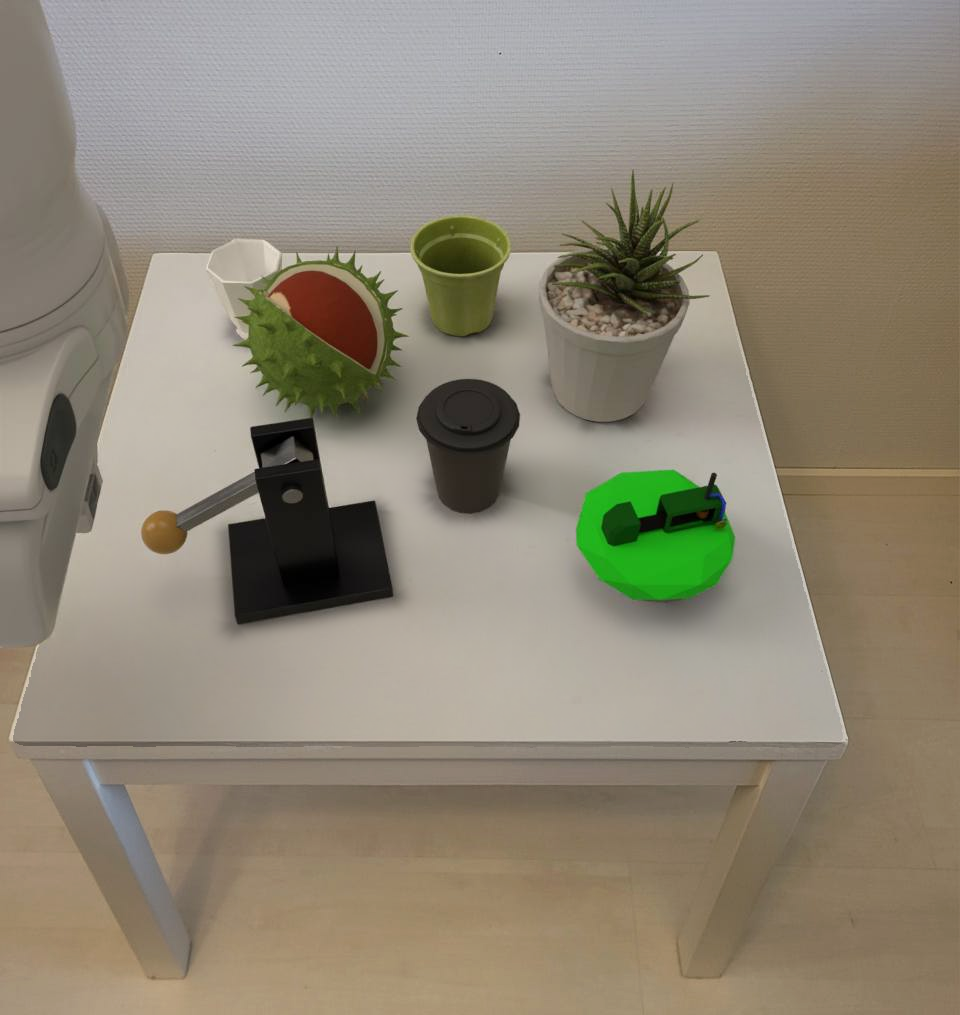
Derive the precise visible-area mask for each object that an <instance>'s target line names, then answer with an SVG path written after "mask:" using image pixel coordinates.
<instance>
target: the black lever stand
mask: <svg viewBox="0 0 960 1015" xmlns="http://www.w3.org/2000/svg"><path fill="white" fill-rule="evenodd" d="M249 431H250V432H249V433H250V440H251V442H252V446H253V450H254V454H255V459H256V463H257V466H258V468H254V471H253V472H254V473H255V481H256V484H257V488H258V492H259V493H258V495H259V501H260V503H261V508H262V511H263V515H264V517H263V518H259V519H252V520H245V521H240V522H234V523H228V524H227V530H228V542H229V543H228V544H229V558H230V570H231V571H230V572H231V581H232V582H231V585H232V597H233V598H232V599H233V610H234V611H233V612H234V618H235V621H236V623H237V625H243V624H248V623H254V622H259V621H265V620H271V619H276V618H282V617H287V616H295V615H299V614H303V613H304V614H305V613H310V612H315V611H322V610H327V609H333V608H339V607H343V606H350V605H356V604H361V603H367V602H372V601H379V600H383V599H388V598H393V597H394V589H393V588H394V587H393V583H392V578H391V573H390V568H389V564H388V559H387V554H386V548H385V543H384V538H383V533H382V528H381V523H380V518H379V513H378V508H377V503H376V500H374V499H373V500H369V501H362V502H357V503H350V504H343V505H337V506H332V507H329V502H328V495H327V490H326V484H325V479H324V473H323V467H322V462H321V456H320V451H319V444H318V439H317V433H316V428H315V422H314V418H313V417H312V418H310V417H307V418H299V419H293V420H287V421H281V422H273V423H267V424H260V425H253V426H250V428H249ZM292 436H294V437H295V438H296V439H297V440H298V441H299V442H300V443H302V444H303V445H304V446H305V447H306V448H307V449H308V450H309V451H310V452H312V454H313V459H314V460H309V461H303V462H296V463H290V464H283V465H277V466H270V467H264V468H262V459H261V454H262V453H263V452H265V451H267V450H269V449H270V448H272V447H274V446H276V445H278V444H279V443H281V442H283V441H285V440H287V439H288V438H290V437H292Z"/></svg>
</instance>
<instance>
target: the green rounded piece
mask: <svg viewBox="0 0 960 1015" xmlns="http://www.w3.org/2000/svg"><path fill="white" fill-rule="evenodd" d="M717 477H718V474H717V472H711V473H710V477H709V480H708V484H707V485H704V486H699V485H697V483H695V482H693V481H692V480H690V479H689V478H687V477H685V475H682V474H681V473H679V471H677V470H675V469H661V470H659V469H658V470H645V471H643V470H641V471H628V472H627V471H625V472H620V473H618V474H617V475H615V476H613V477H611V478H610V479H608V480H606V481H605V482H603V483H601V484H599V485H598V486H595V487H593V488H592V489H590V490H589V491H587V492H586V493H585V496H584V499H583V503H582V507H581V510H580V514H579V517H578V520H577V524H576V527H575V539H576V542H575V543H576V546H577V549H579V551H580V553H581V554H582V555H583V557H584V558H585V560H586V562H587V563H588V564H589V566H590V567H591V569H592V571H593V572H594V573H595V575H596V576H597V578H598V580H600V581H602V582H603V583H605V584H606V585H608V586H609V587H611V588H612V589H614V590H616V591H617V592H619V593H621V594H622V595H624V596H626V597H627V598H629V599H631V600H635V601H644V602H651V603H660V604H661V603H662V604H670V603H675V602H680V601H684V600H688V599H692V598H693V597H695V596H698V595H699V594H701V593H703V592H705V591H708V590H709V589H711V588H713V587H715V586H717V585H718V583H719V582H720V580H721V578H722V577H723V575H724V573H725V572H726V570H727V568H728V567H729V565H730V564H731V562H732V560H733V557H734V549H735V544H736V543H735V542H736V535H735V533H734V531H733V528H732V525H731V524H730V520H729V519H728V515H727V512H726V508H727V502H726V499H725V497H724V495H723V494H722V492H721V491H720V488H719V487H718V485H717V484H715V483H716V480H717Z"/></svg>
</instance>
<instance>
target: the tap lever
mask: <svg viewBox="0 0 960 1015" xmlns="http://www.w3.org/2000/svg"><path fill="white" fill-rule="evenodd" d="M261 459H262V468H264V467H270V466H277V465H283V464H290V463H296V462H303V461H309V460H314V459H313V454H312V452H310V451H309V450H308V449H307V448H306V447H305V446H304V445H303V444H302V443H300V442H299V441H298V440H297V439H296V438H295V437H294V436H292V437H290V438H288V439H287V440H285V441H283V442H281V443H279V444H278V445H276V446H274V447H272V448H270V449H269V450H267V451H265V452H263V453H262V454H261ZM257 494H259V492H258V488H257V484H256V481H255V473H254V471H253V472H251V473H249V474H248V475H245V476H244V477H242V478H240V479H238V480H236V481H235V482H232V483H231V484H229V485H227V486H225V487H224V488H222V489H220V490H217V492H214V493H212V494H211V495H208V496H207V497H206V498H204V499H202V500H200V501H198V502H196V503H194V504H192V505H190V506H189V507H187V508H185V509H183V510H182V511H180V512H177V513H176V512H174V511H172V510H166V509H165V510H164V509H163V510H158V511H155V512H153V513H151V514H150V515H148V516H147V517H146V519H145V520H144V522H143V523H142V526H141V531H140V532H141V536H140V537H141V540H142V542H143V544H144V545H145V546H146V547H147V548H148V550H150V551H151V552H153V553H155V554H159V555H170V554H173V553H176V552H177V551H179V550H180V549H181V548H182V547H183V546H184V545H185V543H186V541H187V538H188V532H189V531H191V530H192V529H194V528H196V527H198V526H201V524H204V523H205V522H207V521H209V520H211V519H213V518H214V517H216V516H218V515H220V514H222V513H224V512H226V511H227V510H229V509H231V508H233V507H235V506H237V505H239V504H240V503H242V502H245V501H246V500H248V499H249V498H252V497H254V496H255V495H257Z"/></svg>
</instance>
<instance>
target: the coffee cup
mask: <svg viewBox="0 0 960 1015" xmlns="http://www.w3.org/2000/svg"><path fill="white" fill-rule="evenodd" d="M520 421H521V413H520V410H519V407H518V404H517V402H516V401H515V400H514V399H513V398H512V396H511V395H510V393H508V392H507V391H506V390H504V389H503V388H502V387H501V386H499V385H497V384H495V383H493V382H490V381H487V380H483V379H477V378H460V379H455V380H454V379H453V380H450V381H447V382H444V383H442V384H440V385H438V386H437V387H435V388H434V389H432V390H430V392H428V394H426V396H424V398H423V400H422V401H421V403H420V404H419V406H418V409H417V414H416V423H417V427H418V430H419V432H420V433H421V435H422V436H423V437H424V439H425V441H426V445H427V450H428V456H429V460H430V464H431V468H432V469H431V470H432V473H433V478H434V482H435V488H436V492H437V496H438V499H439V500H440V502H441V504H443V505H444V506H445V507H447V508H448V509H449V510H451V511H454V512H457V513H460V514H468V515H469V514H470V515H471V514H477V513H481V512H483V511H486V510H488V509H489V508H491V507H492V506H493V505H494V504H495V503H496V501H497V500H498V498H499V496H500V493H501V488H502V483H503V478H504V474H505V469H506V464H507V459H508V454H509V450H510V445H511V440H512V439H514V437H515V435H516V433H517V431H518V429H519V428H520Z"/></svg>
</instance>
